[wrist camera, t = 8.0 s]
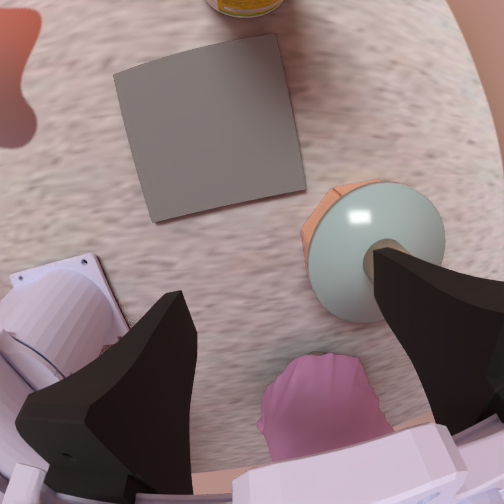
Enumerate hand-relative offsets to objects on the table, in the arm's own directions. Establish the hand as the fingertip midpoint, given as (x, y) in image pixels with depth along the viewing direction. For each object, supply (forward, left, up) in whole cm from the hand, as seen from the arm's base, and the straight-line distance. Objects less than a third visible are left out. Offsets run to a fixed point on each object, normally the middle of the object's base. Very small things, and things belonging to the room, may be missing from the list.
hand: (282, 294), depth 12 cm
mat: (-2, +6, -10) cm, 12 cm away
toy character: (+1, -16, -10) cm, 19 cm away
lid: (+6, -3, -7) cm, 10 cm away
